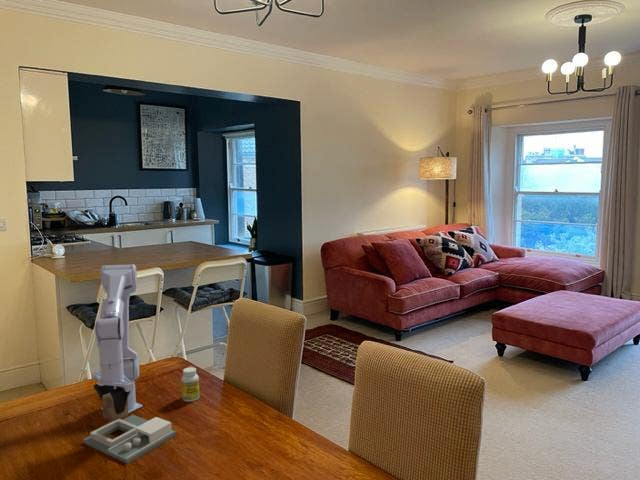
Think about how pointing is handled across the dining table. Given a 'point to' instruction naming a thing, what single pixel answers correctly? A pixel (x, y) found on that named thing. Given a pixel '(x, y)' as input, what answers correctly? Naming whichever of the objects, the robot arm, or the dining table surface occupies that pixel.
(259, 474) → the dining table surface
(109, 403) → the block
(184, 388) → the supplement bottle
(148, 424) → the cover
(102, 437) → the housing board
